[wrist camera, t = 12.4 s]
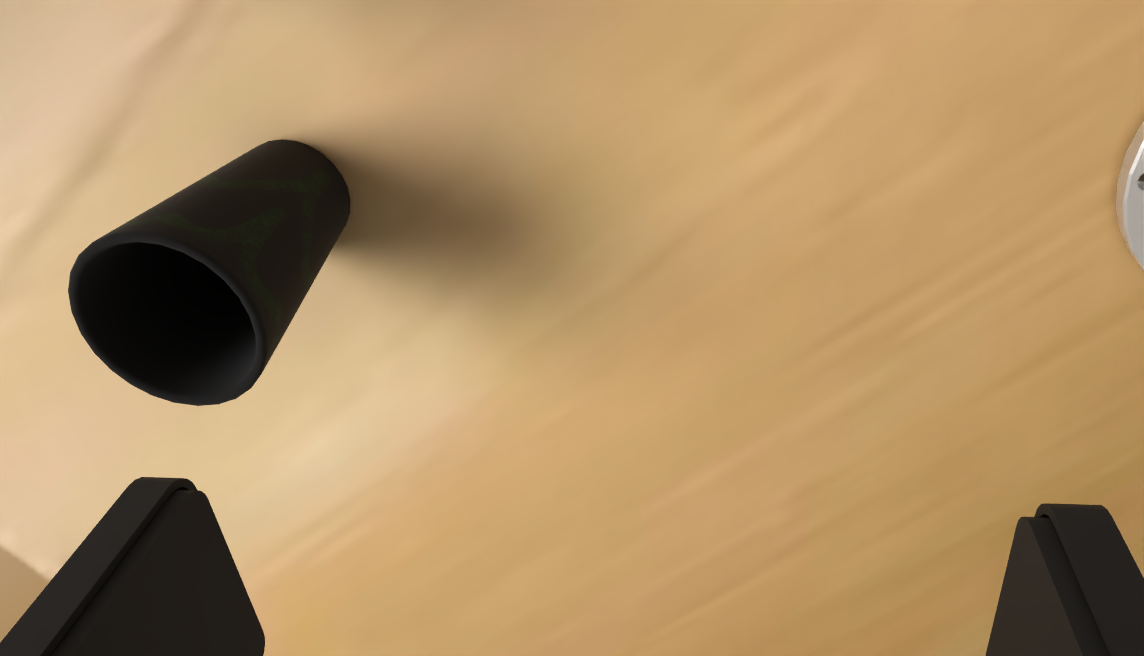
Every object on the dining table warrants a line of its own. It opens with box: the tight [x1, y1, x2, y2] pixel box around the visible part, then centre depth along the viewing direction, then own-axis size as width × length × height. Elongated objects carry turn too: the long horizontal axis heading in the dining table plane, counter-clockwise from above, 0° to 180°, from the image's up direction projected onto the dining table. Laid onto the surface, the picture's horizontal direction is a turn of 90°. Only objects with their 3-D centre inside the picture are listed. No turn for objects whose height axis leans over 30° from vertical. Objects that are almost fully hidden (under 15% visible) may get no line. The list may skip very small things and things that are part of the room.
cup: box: [68, 140, 350, 406], centre depth 38 cm, size 8×8×12 cm
